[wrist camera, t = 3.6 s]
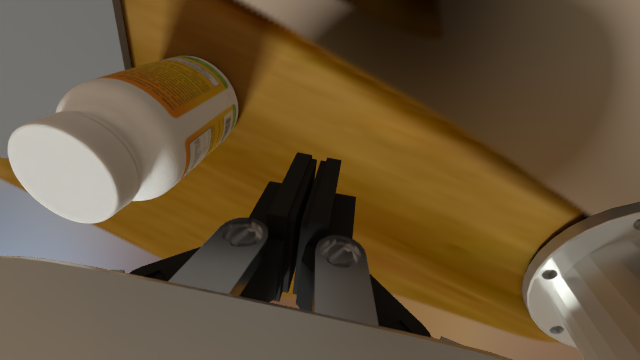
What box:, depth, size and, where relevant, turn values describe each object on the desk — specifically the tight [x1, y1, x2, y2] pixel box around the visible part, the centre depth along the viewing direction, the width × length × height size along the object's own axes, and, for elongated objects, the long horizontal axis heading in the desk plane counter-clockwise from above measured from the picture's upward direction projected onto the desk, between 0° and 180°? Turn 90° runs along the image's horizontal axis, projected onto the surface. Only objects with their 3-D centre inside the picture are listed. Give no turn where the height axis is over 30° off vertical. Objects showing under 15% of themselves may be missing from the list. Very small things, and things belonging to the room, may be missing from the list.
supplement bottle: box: [8, 56, 238, 223], centre depth 15 cm, size 5×5×10 cm
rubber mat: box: [0, 0, 132, 159], centre depth 20 cm, size 12×13×1 cm
